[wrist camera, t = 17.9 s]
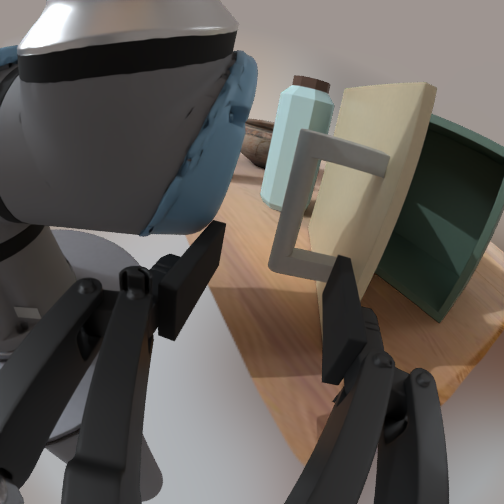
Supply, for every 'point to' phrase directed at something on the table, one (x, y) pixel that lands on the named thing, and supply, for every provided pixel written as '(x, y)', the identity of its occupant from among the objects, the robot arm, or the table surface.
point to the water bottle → (294, 134)
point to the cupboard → (445, 217)
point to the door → (353, 183)
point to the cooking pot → (257, 141)
